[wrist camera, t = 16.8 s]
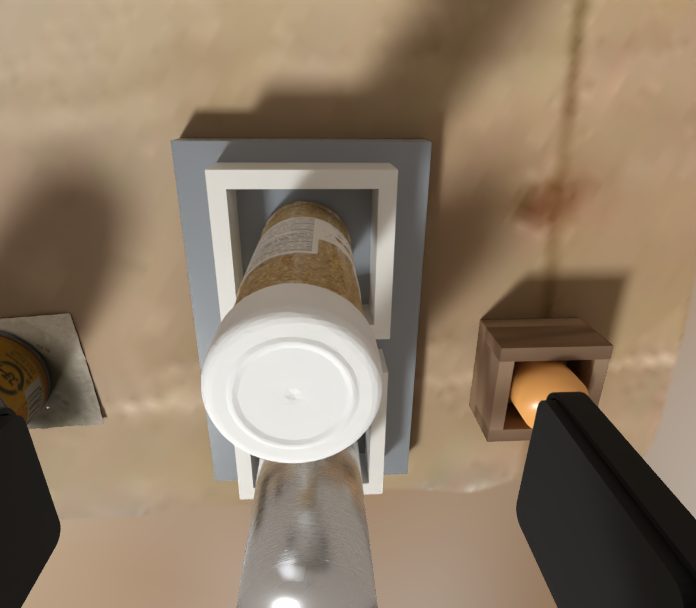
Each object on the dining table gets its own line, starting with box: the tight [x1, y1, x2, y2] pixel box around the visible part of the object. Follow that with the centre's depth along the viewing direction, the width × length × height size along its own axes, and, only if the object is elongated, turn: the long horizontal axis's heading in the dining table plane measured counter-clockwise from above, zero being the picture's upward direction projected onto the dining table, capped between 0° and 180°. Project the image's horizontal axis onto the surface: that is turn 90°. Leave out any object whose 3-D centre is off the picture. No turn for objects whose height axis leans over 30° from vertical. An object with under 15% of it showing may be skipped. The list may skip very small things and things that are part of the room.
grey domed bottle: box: [237, 441, 377, 608], centre depth 22 cm, size 5×5×12 cm
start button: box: [509, 360, 589, 429], centre depth 27 cm, size 4×4×3 cm
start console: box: [469, 318, 613, 442], centre depth 28 cm, size 6×6×4 cm
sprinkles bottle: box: [201, 201, 384, 463], centre depth 18 cm, size 5×5×13 cm
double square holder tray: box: [171, 138, 432, 499], centre depth 25 cm, size 20×12×4 cm, turn 0°
